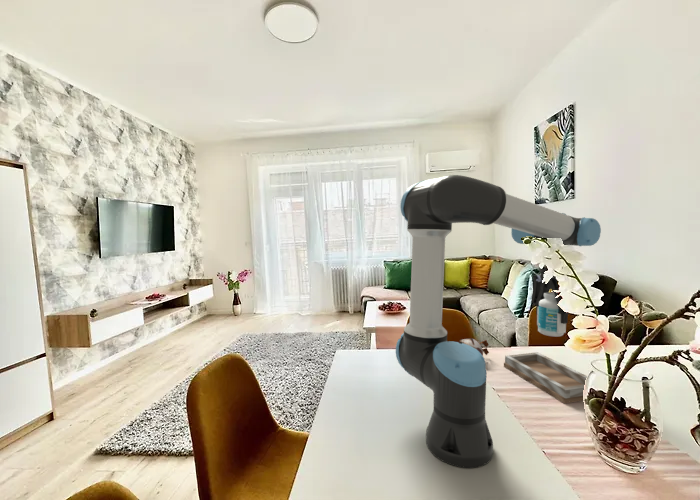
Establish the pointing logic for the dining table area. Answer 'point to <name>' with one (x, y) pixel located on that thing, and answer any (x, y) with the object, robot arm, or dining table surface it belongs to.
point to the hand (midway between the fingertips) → (550, 328)
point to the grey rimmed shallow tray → (548, 375)
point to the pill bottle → (548, 315)
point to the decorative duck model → (476, 345)
